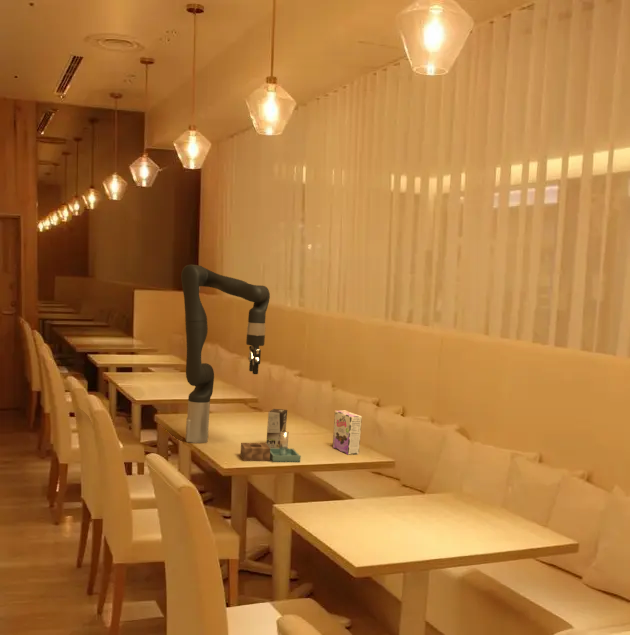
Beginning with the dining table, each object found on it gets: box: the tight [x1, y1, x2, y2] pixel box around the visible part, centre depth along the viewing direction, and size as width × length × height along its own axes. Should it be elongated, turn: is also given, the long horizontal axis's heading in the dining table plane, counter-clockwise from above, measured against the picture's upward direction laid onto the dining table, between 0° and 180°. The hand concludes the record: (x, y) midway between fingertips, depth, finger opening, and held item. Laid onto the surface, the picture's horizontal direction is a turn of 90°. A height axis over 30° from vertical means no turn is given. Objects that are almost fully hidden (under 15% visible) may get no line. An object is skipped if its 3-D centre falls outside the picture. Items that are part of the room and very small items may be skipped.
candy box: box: [332, 409, 363, 455], centre depth 335 cm, size 14×6×16 cm, turn 27°
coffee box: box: [265, 408, 288, 448], centre depth 331 cm, size 9×6×16 cm
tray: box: [270, 448, 301, 463], centre depth 314 cm, size 11×13×2 cm
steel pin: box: [279, 430, 289, 455], centre depth 314 cm, size 3×3×10 cm
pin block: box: [240, 442, 271, 462], centre depth 311 cm, size 10×10×5 cm
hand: (253, 372), depth 324 cm, fingers open, 8 cm apart
